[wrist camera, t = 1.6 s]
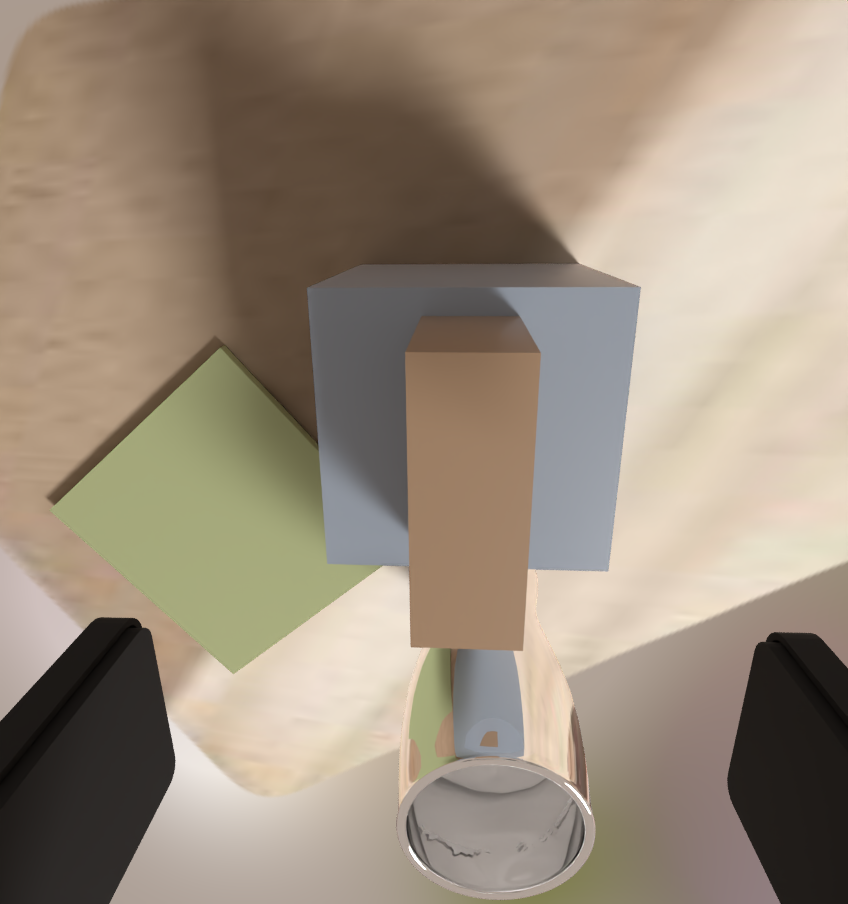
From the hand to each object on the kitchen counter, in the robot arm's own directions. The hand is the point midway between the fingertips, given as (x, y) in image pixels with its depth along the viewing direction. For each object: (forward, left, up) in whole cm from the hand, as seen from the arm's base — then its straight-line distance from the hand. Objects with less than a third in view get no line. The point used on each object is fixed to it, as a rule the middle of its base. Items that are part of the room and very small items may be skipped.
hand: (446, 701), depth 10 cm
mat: (+15, -1, -22) cm, 27 cm away
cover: (0, 0, -22) cm, 22 cm away
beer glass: (+7, +10, -22) cm, 25 cm away
